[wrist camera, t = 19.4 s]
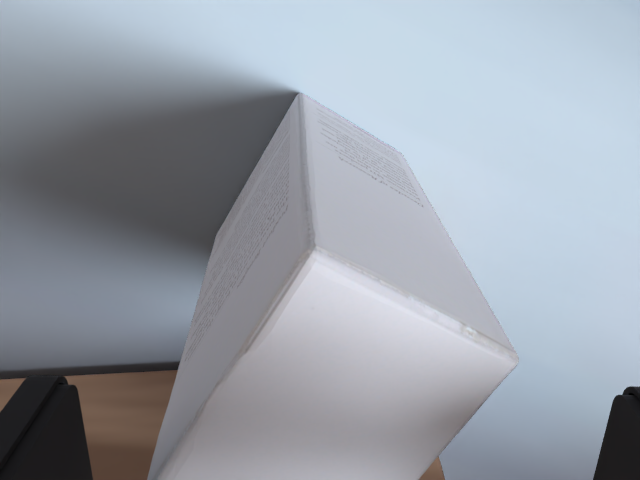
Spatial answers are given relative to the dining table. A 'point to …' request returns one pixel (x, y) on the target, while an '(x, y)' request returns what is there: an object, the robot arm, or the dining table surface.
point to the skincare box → (329, 322)
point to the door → (128, 420)
